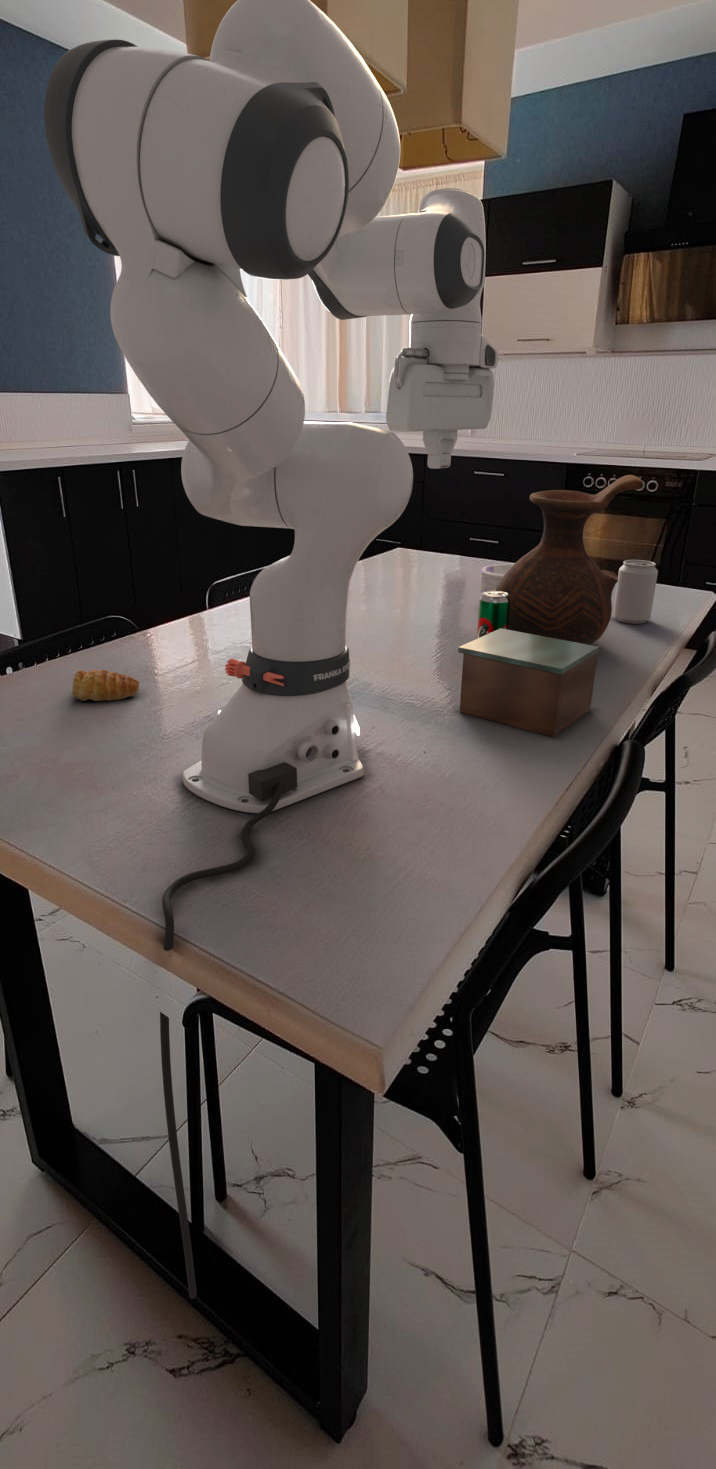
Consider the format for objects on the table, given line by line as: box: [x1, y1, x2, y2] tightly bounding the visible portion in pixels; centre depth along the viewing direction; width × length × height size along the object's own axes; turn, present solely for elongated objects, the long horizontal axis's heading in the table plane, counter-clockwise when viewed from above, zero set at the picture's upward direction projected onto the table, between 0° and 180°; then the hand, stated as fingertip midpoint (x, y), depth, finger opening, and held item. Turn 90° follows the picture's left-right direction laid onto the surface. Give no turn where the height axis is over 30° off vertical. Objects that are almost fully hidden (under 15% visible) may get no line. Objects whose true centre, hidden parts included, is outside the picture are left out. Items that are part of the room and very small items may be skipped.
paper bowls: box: [479, 563, 515, 594], centre depth 169 cm, size 15×15×8 cm
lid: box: [457, 628, 600, 675], centre depth 108 cm, size 16×13×1 cm
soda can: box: [476, 591, 510, 639], centre depth 130 cm, size 5×5×12 cm
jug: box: [495, 474, 643, 645], centre depth 137 cm, size 22×22×30 cm
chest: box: [459, 652, 599, 738], centre depth 110 cm, size 15×13×9 cm
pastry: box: [71, 669, 140, 702], centre depth 115 cm, size 9×7×4 cm
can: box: [612, 559, 659, 625], centre depth 157 cm, size 8×8×12 cm
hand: (438, 467), depth 101 cm, fingers closed
